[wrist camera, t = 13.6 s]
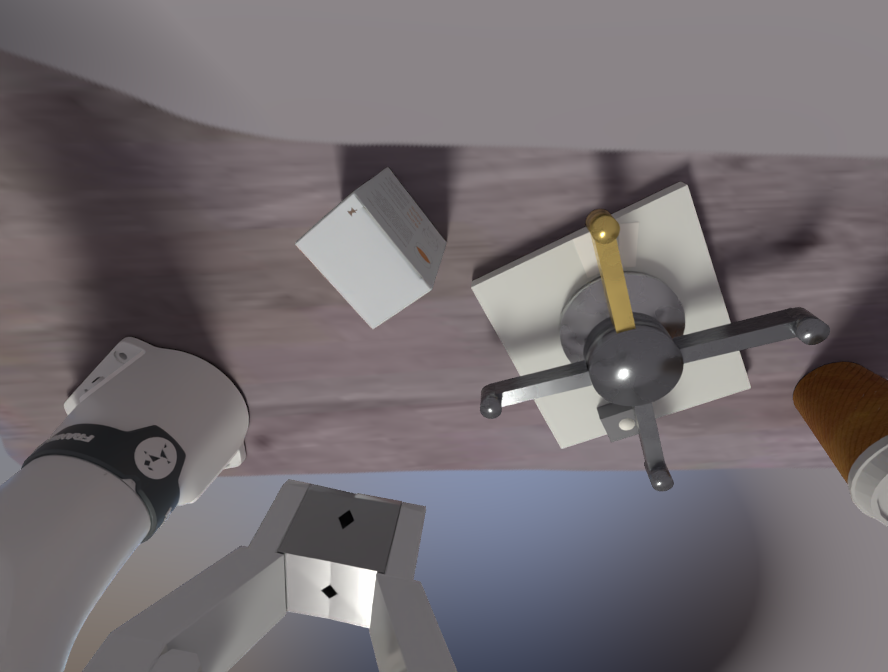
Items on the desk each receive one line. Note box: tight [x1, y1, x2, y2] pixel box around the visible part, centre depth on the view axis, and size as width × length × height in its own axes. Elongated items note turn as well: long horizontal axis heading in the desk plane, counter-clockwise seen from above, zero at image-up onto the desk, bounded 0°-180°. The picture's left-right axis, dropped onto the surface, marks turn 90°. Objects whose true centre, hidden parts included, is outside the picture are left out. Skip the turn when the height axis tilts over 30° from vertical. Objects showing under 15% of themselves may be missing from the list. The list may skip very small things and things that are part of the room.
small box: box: [295, 167, 447, 329], centre depth 34 cm, size 8×6×10 cm
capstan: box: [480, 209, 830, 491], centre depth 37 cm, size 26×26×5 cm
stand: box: [471, 181, 751, 449], centre depth 39 cm, size 18×20×4 cm
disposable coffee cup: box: [793, 362, 888, 527], centre depth 36 cm, size 10×10×12 cm
